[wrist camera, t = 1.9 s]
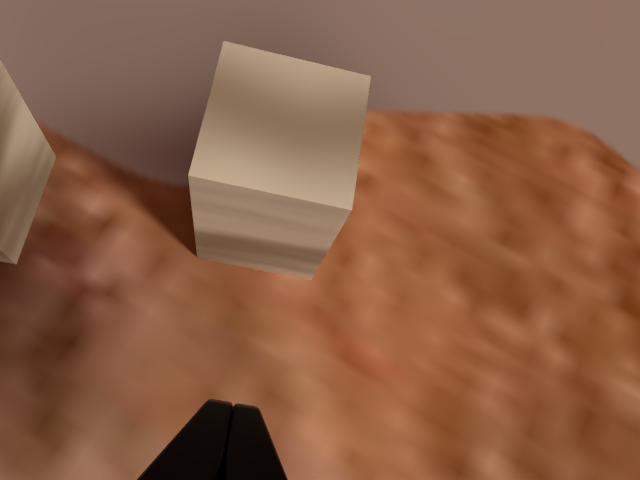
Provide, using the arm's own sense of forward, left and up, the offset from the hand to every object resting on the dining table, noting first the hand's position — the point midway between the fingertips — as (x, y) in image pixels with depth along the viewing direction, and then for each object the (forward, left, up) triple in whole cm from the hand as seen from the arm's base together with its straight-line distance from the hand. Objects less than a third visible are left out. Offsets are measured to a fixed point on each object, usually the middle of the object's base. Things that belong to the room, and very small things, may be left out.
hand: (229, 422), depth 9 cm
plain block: (+7, +6, -13) cm, 16 cm away
